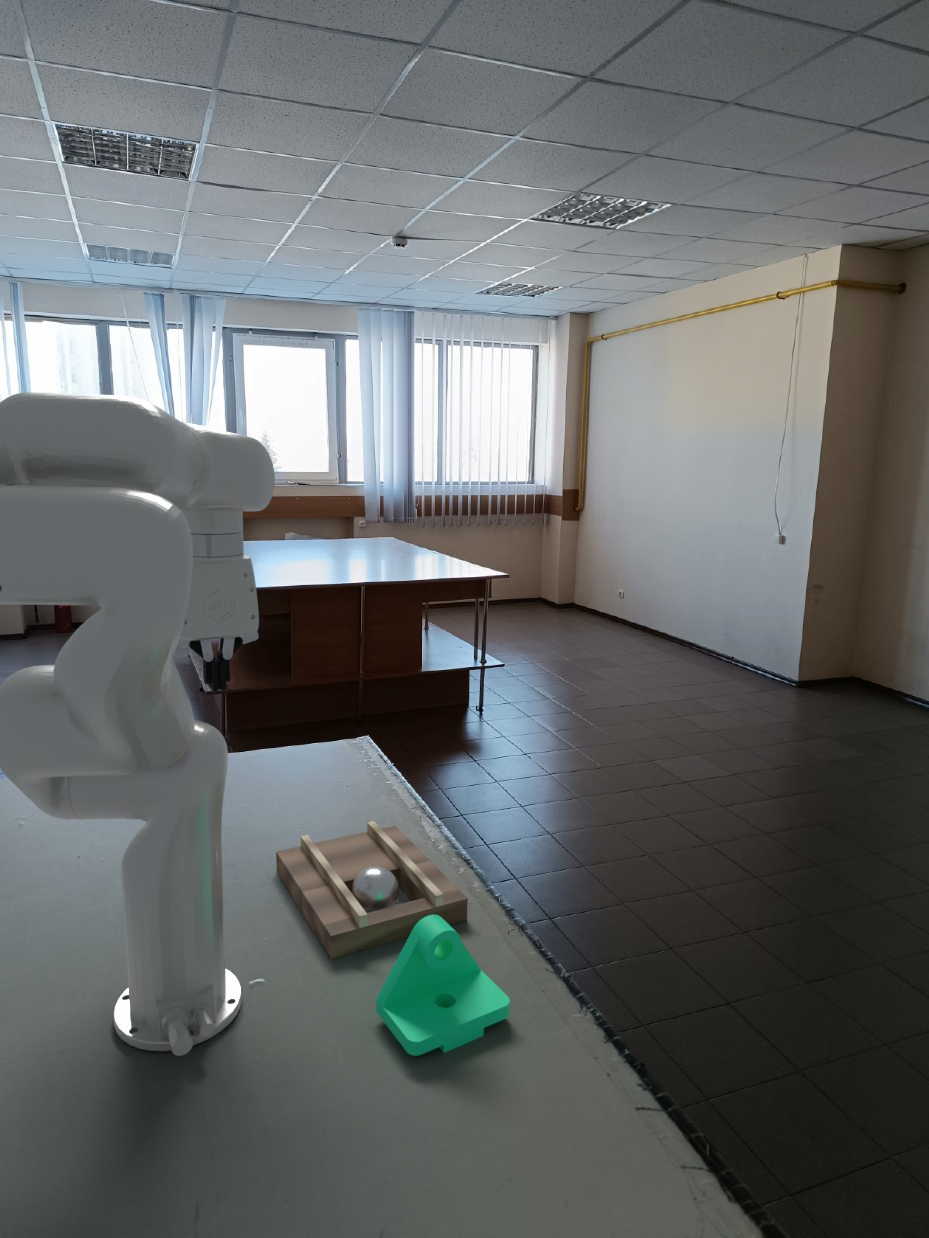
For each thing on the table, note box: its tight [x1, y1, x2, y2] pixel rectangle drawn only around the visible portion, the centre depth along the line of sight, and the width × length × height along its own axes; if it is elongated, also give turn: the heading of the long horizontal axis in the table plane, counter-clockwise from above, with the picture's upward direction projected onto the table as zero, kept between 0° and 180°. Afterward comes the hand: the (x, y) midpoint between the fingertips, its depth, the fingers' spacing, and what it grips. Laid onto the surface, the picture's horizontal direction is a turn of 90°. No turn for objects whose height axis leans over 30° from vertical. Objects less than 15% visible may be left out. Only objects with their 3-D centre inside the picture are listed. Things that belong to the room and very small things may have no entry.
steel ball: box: [352, 866, 400, 913], centre depth 103 cm, size 6×6×6 cm
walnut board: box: [275, 820, 469, 960], centre depth 107 cm, size 22×18×4 cm
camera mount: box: [375, 915, 511, 1056], centre depth 83 cm, size 12×8×10 cm, turn 122°
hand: (217, 687), depth 104 cm, fingers closed
